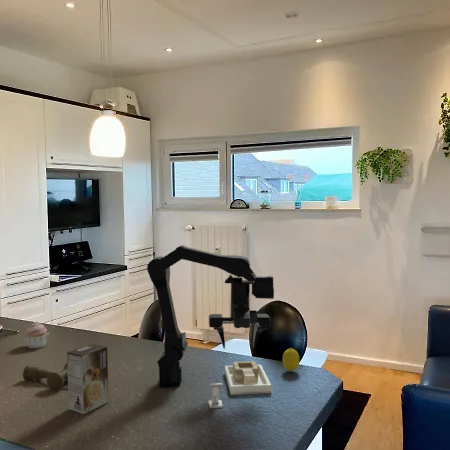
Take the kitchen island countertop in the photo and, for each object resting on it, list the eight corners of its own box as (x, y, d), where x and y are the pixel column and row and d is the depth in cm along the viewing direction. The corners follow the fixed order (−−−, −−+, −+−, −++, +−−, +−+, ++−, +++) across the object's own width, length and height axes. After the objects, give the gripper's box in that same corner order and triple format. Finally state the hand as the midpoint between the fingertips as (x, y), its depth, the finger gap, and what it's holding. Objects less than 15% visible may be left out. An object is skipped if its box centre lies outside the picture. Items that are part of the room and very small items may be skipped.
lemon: (298, 375, 153) (299, 351, 153) (281, 374, 154) (282, 350, 154) (299, 369, 159) (299, 346, 158) (283, 368, 160) (283, 344, 159)
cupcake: (43, 350, 178) (43, 324, 178) (19, 350, 178) (18, 324, 178) (53, 343, 188) (52, 318, 187) (29, 342, 188) (29, 318, 187)
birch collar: (233, 374, 153) (233, 361, 152) (254, 373, 153) (254, 361, 153) (238, 389, 140) (238, 376, 140) (261, 388, 141) (261, 375, 141)
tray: (271, 393, 139) (271, 384, 139) (230, 394, 138) (230, 386, 138) (260, 372, 156) (260, 364, 156) (224, 373, 155) (224, 365, 155)
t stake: (209, 408, 129) (209, 386, 129) (208, 402, 133) (208, 381, 132) (222, 407, 129) (222, 386, 129) (221, 402, 133) (221, 381, 133)
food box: (93, 397, 136) (92, 342, 135) (109, 402, 133) (108, 346, 132) (67, 409, 128) (66, 351, 127) (83, 415, 125) (82, 355, 124)
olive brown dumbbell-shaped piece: (38, 375, 154) (90, 381, 148) (16, 387, 145) (72, 394, 139) (36, 357, 154) (89, 362, 148) (15, 368, 145) (70, 374, 139)
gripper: (210, 303, 135) (210, 357, 135) (275, 303, 136) (274, 356, 137) (208, 295, 146) (208, 345, 147) (268, 295, 147) (267, 344, 148)
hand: (239, 348), depth 144 cm, fingers open, 9 cm apart
